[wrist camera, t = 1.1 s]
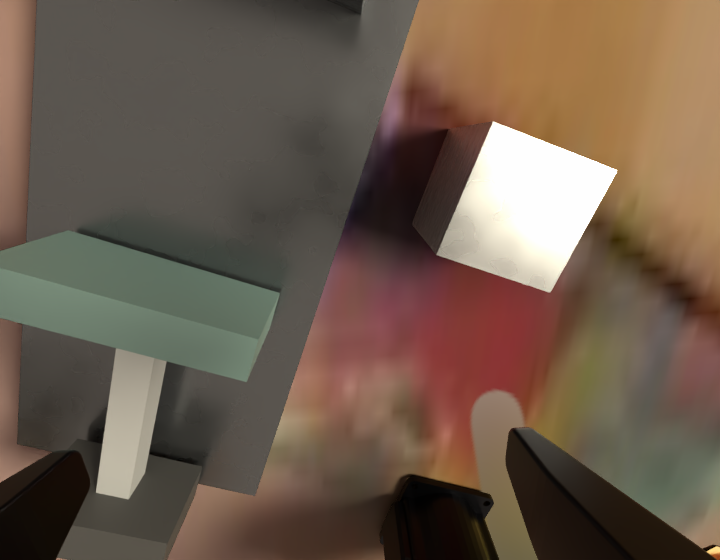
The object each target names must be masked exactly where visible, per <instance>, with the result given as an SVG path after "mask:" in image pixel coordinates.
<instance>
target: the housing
mask: <svg viewBox="0 0 720 560" xmlns="http://www.w3.org/2000/svg"><path fill="white" fill-rule="evenodd" d="M616 172H617V170H615V169H612V168H610V167H607V166H605V165H602V164H600V163H597V162H595V161H592V160H590V159H587V158H584V157H582V156H579V155H577V154H574V153H572V152H569V151H567V150H564V149H562V148H559V147H557V146H554V145H551V144H549V143H546V142H544V141H541V140H539V139H536V138H534V137H531V136H529V135H526V134H524V133H521V132H519V131H516V130H513V129H511V128H508V127H506V126H503V125H501V124H498V123H496V122H487V123H481V124H475V125H469V126H463V127H457V128H451V129H449V130H448V132H447V135H446V137H445V140H444V143H443V145H442V148H441V150H440V153H439V155H438V158H437V160H436V163H435V166H434V168H433V171H432V173H431V176H430V178H429V181H428V183H427V186H426V189H425V191H424V194H423V196H422V199H421V201H420V204H419V207H418V209H417V212H416V214H415V217H414V219H413V222H412V225H413V226H414V228H415V229H416V230H417V231H418V233H419V234H420V235H421V236H422V238H423V239H424V240H425V241H426V243H427V244H428V245H429V246H430V248H431V249H432V250H433V251H434V253H435V254H436V255H438V256H441V257H444V258H447V259H450V260H453V261H456V262H459V263H462V264H465V265H468V266H471V267H474V268H477V269H480V270H483V271H486V272H489V273H492V274H495V275H498V276H501V277H504V278H507V279H510V280H514V281H517V282H520V283H523V284H526V285H529V286H532V287H535V288H538V289H541V290H544V291H547V292H551V290H552V289H553V287H554V285H555V283H556V281H557V279H558V278H559V276H560V274H561V272H562V270H563V269H564V267H565V265H566V263H567V261H568V259H569V258H570V256H571V254H572V252H573V250H574V249H575V247H576V245H577V243H578V241H579V239H580V238H581V236H582V234H583V232H584V230H585V228H586V227H587V225H588V223H589V221H590V219H591V218H592V216H593V214H594V212H595V210H596V208H597V207H598V205H599V203H600V201H601V199H602V198H603V196H604V194H605V192H606V190H607V188H608V187H609V185H610V183H611V181H612V179H613V178H614V176H615V174H616Z"/></svg>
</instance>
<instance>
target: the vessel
mask: <svg viewBox="0 0 720 560" xmlns="http://www.w3.org/2000/svg"><path fill="white" fill-rule="evenodd" d="M707 552H708V553H709V554H710V555H712V556H713V557H715V558H716V559H717V560H720V547H717V546H716V547H714V548H712V549H710V550H708V551H707Z"/></svg>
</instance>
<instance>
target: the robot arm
mask: <svg viewBox="0 0 720 560" xmlns="http://www.w3.org/2000/svg"><path fill="white" fill-rule="evenodd" d="M506 467H507V471H508V474H509V477H510V480H511V483H512V486H513V489H514V492H515V495H516V498H517V501H518V504H519V507H520V510H521V513H522V516H523V519H524V522H525V525H526V528H527V531H528V534H529V537H530V540H531V542H532V545H533V548H534V551H535V553H536V555H537V558H538V560H717V559H716V558H715V557H713V556H712V555H710V554H709V553H708V552H706V551H705V550H703V549H702V548H700V547H699V546H698V545H696V544H695V543H693V542H692V541H691V540H689V539H688V538H686V537H685V536H683V535H682V534H681V533H679V532H678V531H676V530H675V529H674V528H672V527H671V526H669V525H668V524H667V523H665V522H664V521H662V520H661V519H659V518H658V517H657V516H655V515H654V514H652V513H651V512H650V511H648V510H647V509H645V508H644V507H642V506H641V505H640V504H638V503H637V502H635V501H634V500H633V499H631V498H630V497H628V496H627V495H626V494H624V493H623V492H621V491H620V490H618V489H617V488H616V487H614V486H613V485H611V484H610V483H609V482H607V481H606V480H604V479H603V478H601V477H600V476H599V475H597V474H596V473H594V472H593V471H592V470H590V469H589V468H587V467H586V466H585V465H583V464H582V463H580V462H579V461H577V460H576V459H575V458H573V457H572V456H570V455H569V454H568V453H566V452H565V451H563V450H562V449H560V448H559V447H558V446H556V445H555V444H553V443H552V442H551V441H549V440H548V439H546V438H545V437H544V436H542V435H541V434H539V433H538V432H536V431H535V430H534V429H532V428H529V427H522V428H512V429H511V430H510V431H509V435H508V442H507V450H506ZM90 483H91V480H90V476H89V473H88V470H87V468H86V465H85V462H84V460H83V457H82V455H81V453H80V452H79V451H78V450H58V451H54V452H52V453H50V454H48V455H47V456H45V457H43V458H42V459H40V460H38V461H36V462H35V463H33V464H31V465H30V466H28V467H26V468H24V469H23V470H21V471H19V472H18V473H16V474H14V475H12V476H11V477H9V478H7V479H6V480H4V481H2V482H1V483H0V560H56V558H57V556H58V554H59V552H60V550H61V548H62V546H63V544H64V542H65V539H66V537H67V535H68V533H69V531H70V529H71V527H72V525H73V523H74V521H75V519H76V517H77V515H78V513H79V511H80V508H81V506H82V504H83V502H84V500H85V498H86V496H87V494H88V492H89V489H90ZM493 504H494V502H493V499H492V497H491V495H490V494H487V493H483V492H479V491H475V490H471V489H467V488H462V487H458V486H454V485H450V484H446V483H442V482H437V481H433V480H429V479H425V478H421V477H417V476H412V477H410V478H408V479H407V481H406V483H405V485H404V487H403V489H402V491H401V493H400V495H399V497H398V499H397V500H396V501H395V502H394V503H393V505H392V507H391V509H390V511H389V513H388V515H387V517H386V519H385V521H384V523H383V525H382V531H381V533H380V542H381V544H383V545H384V556H385V560H499V557H498V554H497V552H496V549H495V546H494V543H493V541H492V538H491V535H490V532H489V530H488V527H487V524H486V521H485V517H486V516H487V514H488V512H489V511H490V509H491V507H492V506H493Z"/></svg>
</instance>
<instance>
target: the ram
mask: <svg viewBox="0 0 720 560" xmlns="http://www.w3.org/2000/svg"><path fill="white" fill-rule="evenodd" d="M279 295H280V293H278V292H275V291H271V290H268V289H265V288H261V287H258V286H254V285H251V284H248V283H244V282H241V281H238V280H234V279H231V278H228V277H224V276H221V275H217V274H214V273H211V272H207V271H204V270H201V269H197V268H194V267H191V266H187V265H184V264H180V263H177V262H174V261H170V260H167V259H164V258H160V257H157V256H154V255H150V254H147V253H143V252H140V251H137V250H133V249H130V248H127V247H123V246H120V245H117V244H113V243H110V242H106V241H103V240H100V239H96V238H93V237H90V236H86V235H83V234H80V233H76V232H73V231H69V230H67V231H64V232H61V233H58V234H54V235H51V236H48V237H44V238H41V239H38V240H34V241H31V242H28V243H25V244H21V245H18V246H15V247H11V248H8V249H5V250H2V251H0V318H2V319H6V320H10V321H14V322H18V323H21V324H25V325H29V326H33V327H37V328H41V329H44V330H48V331H52V332H56V333H60V334H64V335H68V336H71V337H75V338H79V339H83V340H87V341H91V342H94V343H98V344H102V345H106V346H110V347H114V348H116V352H115V360H114V367H113V374H112V381H111V388H110V395H109V402H108V409H107V416H106V424H105V431H104V438H103V444H100V443H95V442H91V441H86V440H82V439H77V440H76V441H75V442H74V443H73V444H72V445H71V446H70V447H69V448H68V449H67V450H78V451H79V452H80V453H81V455H82V457H83V460H84V462H85V465H86V468H87V470H88V473H89V476H90V480H91V483H90V489H89V492H88V494H87V496H86V498H85V500H84V502H83V504H82V506H81V508H80V511H79V513H78V515H77V517H76V519H75V521H74V523H73V525H72V527H71V529H70V531H69V533H68V535H67V537H66V539H65V542H64V544H63V546H62V548H61V550H60V552H59V554H58V556H57V558H62V559H68V560H167V558H168V556H169V554H170V551H171V549H172V547H173V544H174V542H175V540H176V538H177V535H178V533H179V531H180V528H181V526H182V524H183V522H184V519H185V517H186V515H187V512H188V510H189V508H190V506H191V503H192V501H193V499H194V496H195V493H196V489H197V485H198V482H199V478H200V474H201V470H202V466H198V465H193V464H189V463H184V462H180V461H175V460H171V459H166V458H162V457H157V456H153V455H149V449H150V444H151V439H152V434H153V429H154V424H155V419H156V413H157V408H158V403H159V398H160V393H161V388H162V383H163V377H164V372H165V367H166V362H171V363H175V364H179V365H183V366H187V367H191V368H194V369H198V370H202V371H206V372H210V373H214V374H217V375H221V376H225V377H229V378H233V379H237V380H240V381H244V382H247V380H248V377H249V375H250V373H251V370H252V368H253V366H254V363H255V361H256V359H257V356H258V354H259V352H260V350H261V347H262V345H263V343H264V340H265V338H266V336H267V333H268V331H269V329H270V326H271V322H272V319H273V315H274V312H275V308H276V305H277V302H278V298H279Z"/></svg>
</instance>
